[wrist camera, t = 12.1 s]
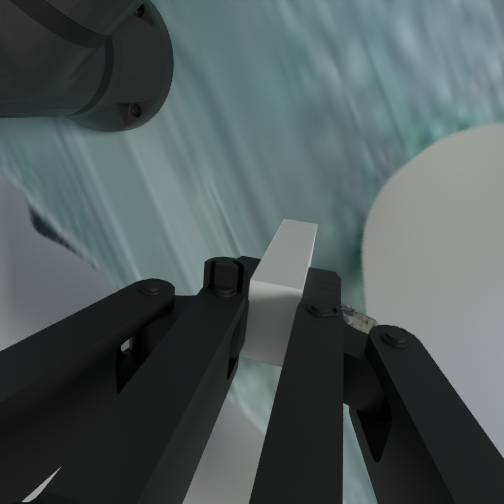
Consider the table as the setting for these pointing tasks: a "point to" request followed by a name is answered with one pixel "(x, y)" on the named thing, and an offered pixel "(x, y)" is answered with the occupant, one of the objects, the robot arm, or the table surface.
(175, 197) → the table surface
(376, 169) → the table surface
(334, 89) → the table surface
